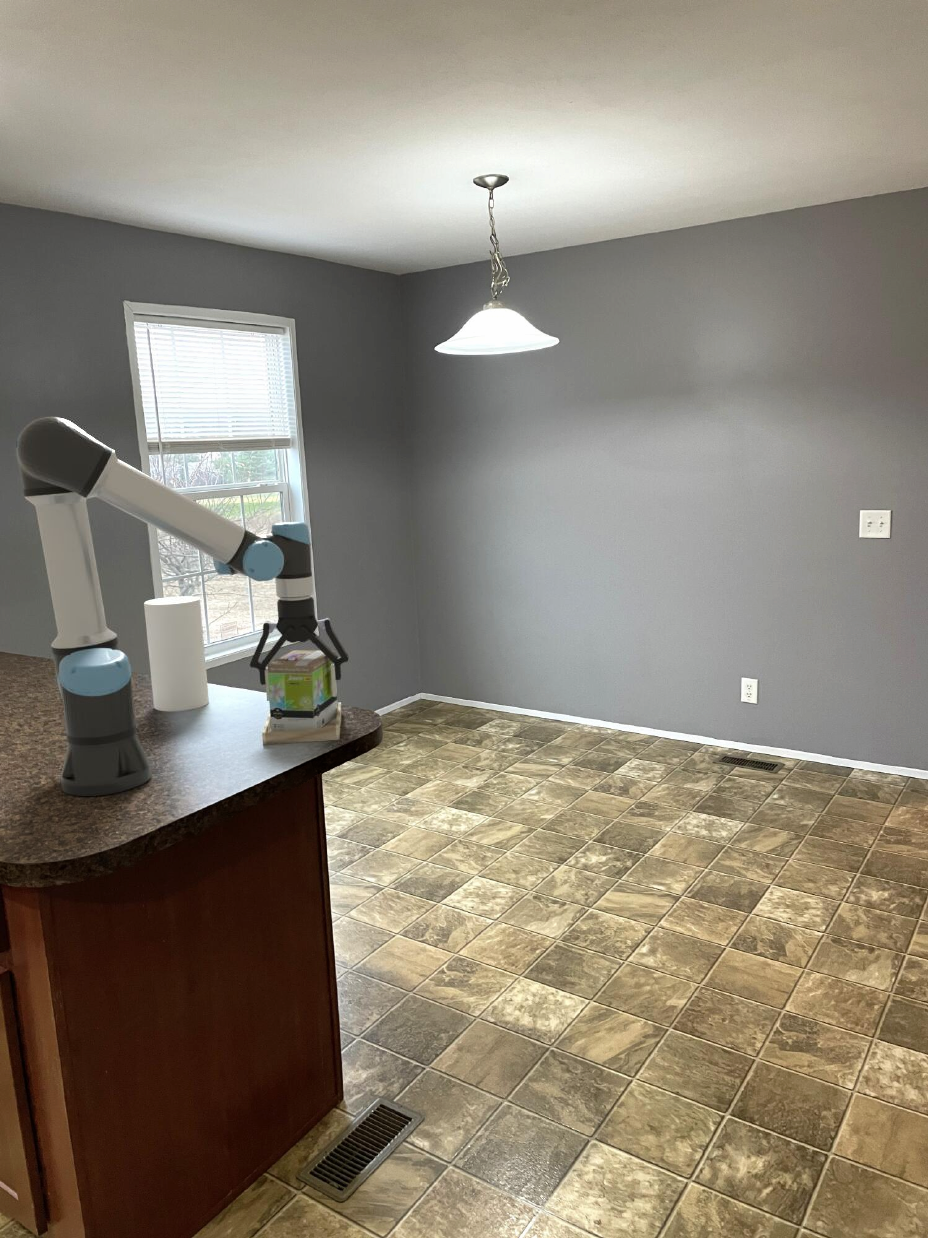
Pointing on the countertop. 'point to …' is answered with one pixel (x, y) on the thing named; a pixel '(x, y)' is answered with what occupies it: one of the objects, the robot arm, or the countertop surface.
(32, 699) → the countertop surface
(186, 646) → the cylinder
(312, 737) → the tray
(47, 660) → the countertop surface
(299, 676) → the tea box
